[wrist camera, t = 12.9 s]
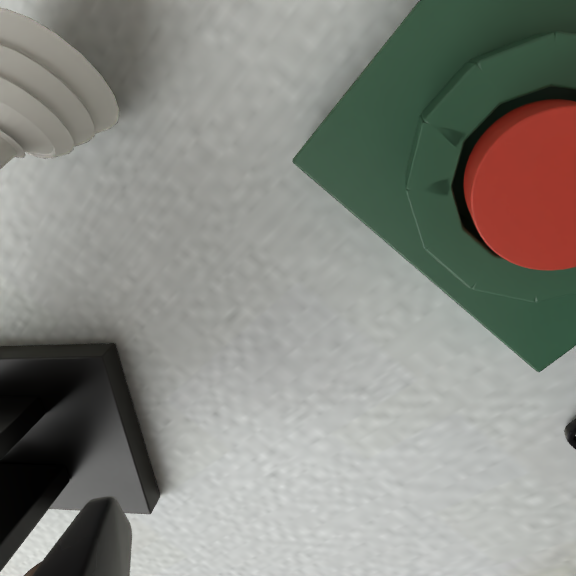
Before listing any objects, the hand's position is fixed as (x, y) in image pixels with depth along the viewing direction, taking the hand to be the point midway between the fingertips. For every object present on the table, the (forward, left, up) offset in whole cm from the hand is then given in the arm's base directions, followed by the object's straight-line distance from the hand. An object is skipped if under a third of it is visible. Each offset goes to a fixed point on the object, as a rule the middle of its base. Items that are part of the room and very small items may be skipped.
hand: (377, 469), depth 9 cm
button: (-1, -5, -8) cm, 10 cm away
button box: (-1, -5, -12) cm, 13 cm away
